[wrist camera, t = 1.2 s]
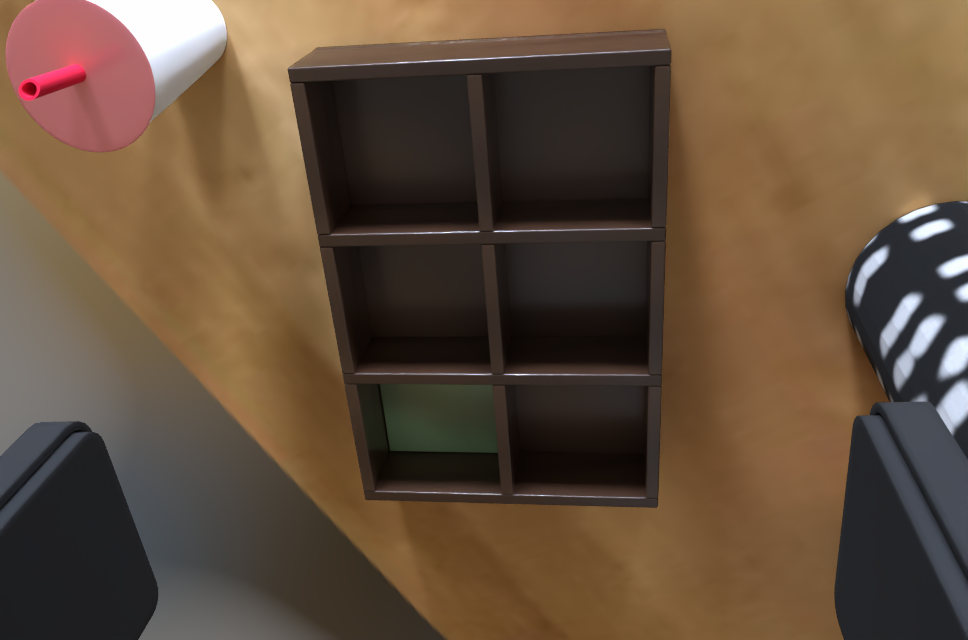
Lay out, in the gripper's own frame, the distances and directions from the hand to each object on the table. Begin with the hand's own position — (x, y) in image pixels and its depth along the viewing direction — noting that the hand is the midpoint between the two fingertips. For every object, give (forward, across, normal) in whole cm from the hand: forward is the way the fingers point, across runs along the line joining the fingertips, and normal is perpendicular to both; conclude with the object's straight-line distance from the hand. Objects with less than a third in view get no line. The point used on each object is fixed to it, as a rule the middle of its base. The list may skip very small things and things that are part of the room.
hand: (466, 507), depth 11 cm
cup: (+29, +16, -2) cm, 33 cm away
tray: (+29, +3, +10) cm, 31 cm away
